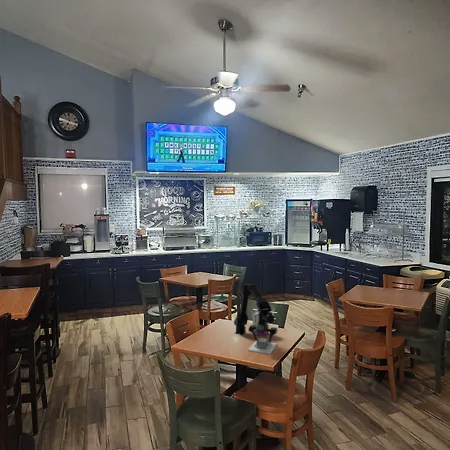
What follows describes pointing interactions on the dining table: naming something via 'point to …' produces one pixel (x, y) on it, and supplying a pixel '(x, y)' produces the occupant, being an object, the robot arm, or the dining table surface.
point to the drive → (262, 343)
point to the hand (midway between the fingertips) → (262, 342)
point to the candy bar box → (255, 322)
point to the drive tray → (267, 350)
